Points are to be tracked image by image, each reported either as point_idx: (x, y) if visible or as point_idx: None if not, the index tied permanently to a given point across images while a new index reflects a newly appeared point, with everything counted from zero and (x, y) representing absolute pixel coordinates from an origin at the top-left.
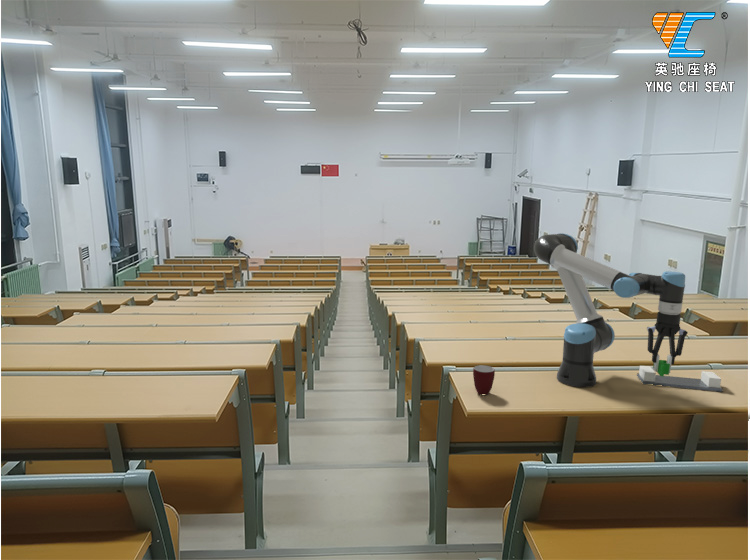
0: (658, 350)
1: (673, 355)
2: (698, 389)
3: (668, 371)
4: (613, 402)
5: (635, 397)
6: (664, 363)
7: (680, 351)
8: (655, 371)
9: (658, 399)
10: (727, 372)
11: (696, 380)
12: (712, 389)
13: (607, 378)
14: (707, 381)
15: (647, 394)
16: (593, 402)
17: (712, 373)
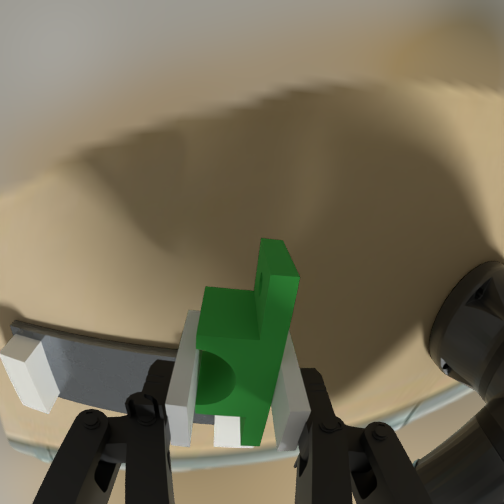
0: (316, 458)
1: (151, 416)
2: (70, 333)
3: (207, 298)
4: (457, 133)
5: (366, 195)
6: (240, 347)
7: (75, 444)
8: None
9: (269, 187)
10: (20, 429)
11: (70, 388)
12: (33, 328)
13: (373, 373)
14: (37, 360)
15: (296, 243)
16: (501, 134)
17: (22, 395)
